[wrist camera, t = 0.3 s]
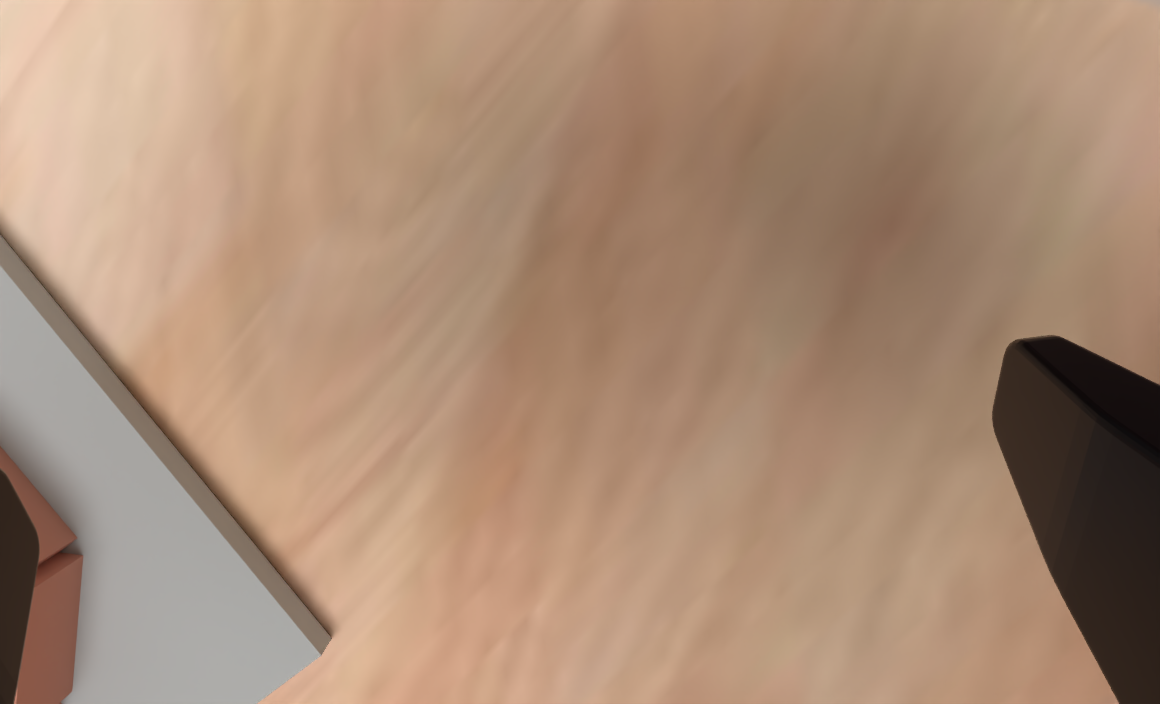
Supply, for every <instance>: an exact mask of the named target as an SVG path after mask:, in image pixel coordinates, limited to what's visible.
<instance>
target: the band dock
mask: <svg viewBox="0 0 1160 704" xmlns="http://www.w3.org/2000/svg"><path fill="white" fill-rule="evenodd" d="M0 468H1V469H2V470H3V471H4V472H5V473H6V475H7V476H8V477H9V479H10V481H11V483H12V485H13V487H14V488H15V490H16V492H17V494H18V496H19V498H20V500H21V502H22V503H23V505H24V507H25V509H26V511H27V513H28V515H29V517H30V518H31V520H32V522H33V524H34V526H35V528H36V531H37V534H38V537H39V544H40V555H39V562H38V568H37V574H36V580H35V586H34V592H33V598H32V604H31V610H30V616H29V622H28V628H27V633H26V639H25V645H24V651H23V657H22V663H21V669H20V675H19V681H18V687H17V692H16V696H15V701H14V704H257V703H258V702H260V701H261V700H262V699H264V698H265V697H266V696H268V695H269V694H270V693H272V692H273V691H274V690H276V689H277V688H278V687H280V686H281V685H282V684H284V683H285V682H286V681H288V680H289V679H290V678H292V677H293V676H295V675H296V674H297V673H299V672H300V671H301V670H303V669H304V668H305V667H307V666H308V665H309V664H311V663H312V662H313V661H315V660H316V659H317V658H319V657H320V656H321V655H322V654H323V652H324V650H325V649H326V647H327V645H328V644H329V642H330V640H331V639H332V638H331V637H330V636H329V634H328V633H327V632H326V631H325V629H324V628H323V627H322V626H321V625H320V623H319V622H318V621H317V620H316V619H315V617H314V616H313V615H312V614H311V612H310V611H309V610H308V609H307V608H306V606H305V605H304V604H303V603H302V601H301V600H300V599H299V598H298V597H297V595H296V594H295V593H294V592H293V591H292V589H291V588H290V587H289V586H288V584H287V583H286V582H285V581H284V580H283V578H282V577H281V576H280V575H279V573H278V572H277V571H276V570H275V569H274V567H273V566H272V565H271V564H270V562H269V561H268V560H267V559H266V558H265V556H264V555H263V554H262V553H261V552H260V550H259V549H258V548H257V547H256V545H255V544H254V543H253V542H252V541H251V539H250V538H249V537H248V536H247V534H246V533H245V532H244V531H243V530H242V528H241V527H240V526H239V525H238V523H237V522H236V521H235V520H234V519H233V517H232V516H231V515H230V514H229V513H228V511H227V510H226V509H225V508H224V506H223V505H222V504H221V503H220V502H219V500H218V499H217V498H216V497H215V495H214V494H213V493H212V492H211V491H210V489H209V488H208V487H207V486H206V484H205V483H204V482H203V481H202V480H201V478H200V477H199V476H198V475H197V474H196V472H195V471H194V470H193V469H192V467H191V466H190V465H189V464H188V463H187V461H186V460H185V459H184V458H183V456H182V455H181V454H180V453H179V452H178V450H177V449H176V448H175V447H174V446H173V444H172V443H171V442H170V441H169V439H168V438H167V437H166V436H165V435H164V433H163V432H162V431H161V430H160V428H159V427H158V426H157V425H156V424H155V422H154V421H153V420H152V419H151V417H150V416H149V415H148V414H147V413H146V411H145V410H144V409H143V408H142V407H141V405H140V404H139V403H138V402H137V400H136V399H135V398H134V397H133V396H132V394H131V393H130V392H129V391H128V389H127V388H126V387H125V386H124V385H123V383H122V382H121V381H120V380H119V378H118V377H117V376H116V375H115V374H114V372H113V371H112V370H111V369H110V368H109V366H108V365H107V364H106V363H105V361H104V360H103V359H102V358H101V357H100V355H99V354H98V353H97V352H96V350H95V349H94V348H93V347H92V346H91V344H90V343H89V342H88V341H87V339H86V338H85V337H84V336H83V335H82V333H81V332H80V331H79V330H78V329H77V327H76V326H75V325H74V324H73V322H72V321H71V320H70V319H69V318H68V316H67V315H66V314H65V313H64V311H63V310H62V309H61V308H60V307H59V305H58V304H57V303H56V302H55V301H54V299H53V298H52V297H51V296H50V294H49V293H48V292H47V291H46V290H45V288H44V287H43V286H42V285H41V283H40V282H39V281H38V280H37V279H36V277H35V276H34V275H33V274H32V272H31V271H30V270H29V269H28V268H27V266H26V265H25V264H24V263H23V262H22V260H21V259H20V258H19V257H18V255H17V254H16V253H15V252H14V251H13V249H12V248H11V247H10V246H9V244H8V243H7V242H6V241H5V240H4V238H3V237H2V236H1V235H0Z"/></svg>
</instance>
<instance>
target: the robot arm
mask: <svg viewBox="0 0 1160 704" xmlns="http://www.w3.org/2000/svg"><path fill="white" fill-rule="evenodd" d="M992 420H993V427H994V432H995V435H996V438H997V441H998V443H999V446H1000V448H1001V451H1002V453H1003V456H1004V458H1005V461H1006V463H1007V466H1008V469H1009V471H1010V474H1011V476H1012V479H1013V481H1014V484H1015V486H1016V489H1017V491H1018V494H1019V497H1020V499H1021V502H1022V504H1023V507H1024V509H1025V512H1026V514H1027V517H1028V519H1029V522H1030V525H1031V527H1032V530H1033V532H1034V535H1035V537H1036V540H1037V542H1038V545H1039V547H1040V550H1041V552H1042V555H1043V557H1044V559H1045V562H1046V564H1047V566H1048V569H1049V571H1050V573H1051V575H1052V577H1053V579H1054V581H1055V583H1056V585H1057V587H1058V589H1059V591H1060V593H1061V595H1062V597H1063V599H1064V601H1065V603H1066V605H1067V607H1068V609H1069V610H1070V612H1071V614H1072V616H1073V618H1074V620H1075V622H1076V624H1077V625H1078V627H1079V629H1080V631H1081V633H1082V635H1083V637H1084V638H1085V640H1086V642H1087V644H1088V646H1089V648H1090V650H1091V652H1092V653H1093V655H1094V657H1095V659H1096V661H1097V663H1098V665H1099V667H1100V668H1101V670H1102V672H1103V674H1104V676H1105V678H1106V680H1107V681H1108V683H1109V685H1110V687H1111V689H1112V691H1113V693H1114V695H1115V696H1116V698H1117V700H1118V702H1119V704H1160V385H1158V384H1156V383H1154V382H1152V381H1150V380H1148V379H1146V378H1144V377H1142V376H1140V375H1138V374H1136V373H1134V372H1132V371H1130V370H1128V369H1126V368H1124V367H1122V366H1120V365H1118V364H1115V363H1113V362H1111V361H1109V360H1107V359H1105V358H1103V357H1101V356H1099V355H1097V354H1095V353H1093V352H1091V351H1089V350H1087V349H1085V348H1083V347H1081V346H1079V345H1077V344H1075V343H1073V342H1070V341H1068V340H1066V339H1064V338H1062V337H1060V336H1055V335H1047V336H1039V337H1031V338H1023V339H1017V340H1015V341H1013V342H1011V343H1010V344H1009V346H1008V347H1007V349H1006V351H1005V354H1004V358H1003V362H1002V367H1001V372H1000V377H999V381H998V386H997V391H996V395H995V400H994V405H993V411H992ZM39 555H40V544H39V537H38V534H37V531H36V528H35V526H34V524H33V522H32V520H31V518H30V517H29V515H28V513H27V511H26V509H25V507H24V505H23V503H22V502H21V500H20V498H19V496H18V494H17V492H16V490H15V488H14V487H13V485H12V483H11V481H10V479H9V477H8V476H7V475H6V473H5V472H4V471H3V470H2V469H1V468H0V704H14V701H15V696H16V692H17V687H18V681H19V675H20V669H21V663H22V657H23V651H24V645H25V639H26V633H27V628H28V622H29V616H30V610H31V604H32V598H33V592H34V586H35V580H36V574H37V568H38V562H39Z"/></svg>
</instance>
